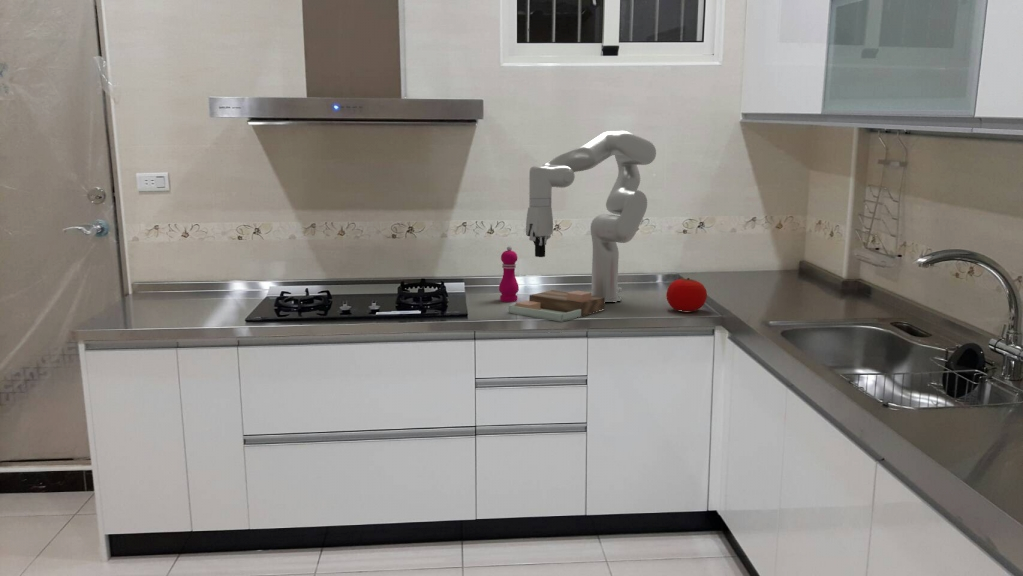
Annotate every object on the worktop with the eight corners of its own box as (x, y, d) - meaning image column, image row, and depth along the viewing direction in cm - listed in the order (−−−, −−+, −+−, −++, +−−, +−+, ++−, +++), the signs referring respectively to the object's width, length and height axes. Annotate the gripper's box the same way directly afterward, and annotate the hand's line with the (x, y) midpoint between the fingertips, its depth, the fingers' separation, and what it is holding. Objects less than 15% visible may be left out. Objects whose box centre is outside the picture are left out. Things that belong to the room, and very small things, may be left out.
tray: (528, 308, 279) (528, 301, 279) (581, 316, 266) (581, 309, 265) (508, 312, 271) (508, 305, 270) (562, 321, 257) (562, 314, 257)
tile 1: (515, 302, 272) (515, 310, 272) (529, 305, 268) (529, 312, 268) (526, 300, 276) (526, 307, 277) (540, 302, 273) (540, 309, 273)
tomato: (662, 307, 284) (664, 274, 282) (700, 307, 284) (702, 275, 282) (670, 314, 271) (671, 280, 269) (710, 315, 271) (712, 281, 269)
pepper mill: (495, 301, 291) (495, 246, 288) (504, 298, 297) (505, 244, 294) (512, 303, 288) (513, 247, 284) (521, 299, 294) (522, 245, 291)
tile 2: (576, 297, 275) (576, 290, 275) (591, 299, 271) (591, 292, 271) (566, 300, 270) (566, 292, 270) (581, 302, 267) (581, 295, 266)
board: (552, 302, 290) (552, 290, 290) (604, 310, 277) (604, 297, 276) (529, 307, 279) (529, 295, 279) (581, 316, 266) (582, 303, 265)
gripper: (544, 201, 279) (544, 253, 282) (518, 203, 267) (518, 258, 271) (562, 202, 274) (561, 255, 278) (536, 204, 263) (535, 260, 266)
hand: (540, 256), depth 274 cm, fingers closed
